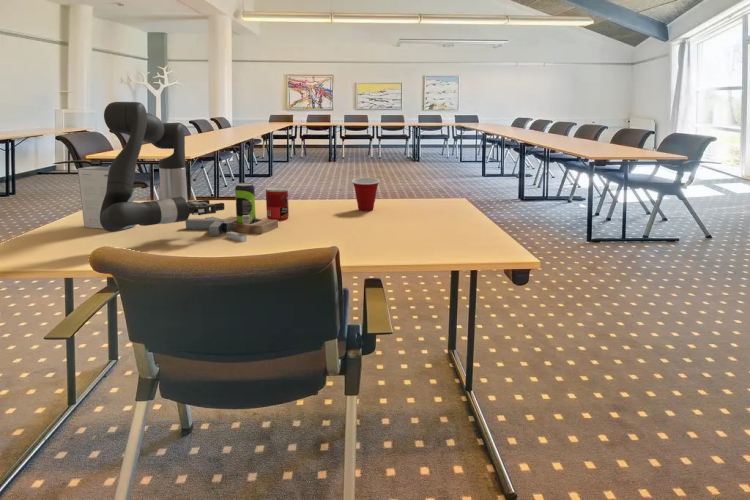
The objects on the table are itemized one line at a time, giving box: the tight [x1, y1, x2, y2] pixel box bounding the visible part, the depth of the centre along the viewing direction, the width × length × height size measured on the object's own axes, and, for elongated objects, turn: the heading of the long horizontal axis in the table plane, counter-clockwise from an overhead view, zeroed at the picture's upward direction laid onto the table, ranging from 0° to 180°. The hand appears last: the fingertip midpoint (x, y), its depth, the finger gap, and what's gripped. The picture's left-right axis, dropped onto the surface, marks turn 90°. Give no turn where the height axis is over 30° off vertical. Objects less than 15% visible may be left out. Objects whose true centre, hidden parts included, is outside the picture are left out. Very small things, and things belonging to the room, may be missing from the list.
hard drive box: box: [77, 166, 136, 231], centre depth 210 cm, size 16×8×20 cm, turn 71°
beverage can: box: [234, 182, 257, 224], centre depth 210 cm, size 6×6×15 cm
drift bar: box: [225, 231, 248, 243], centre depth 196 cm, size 8×2×2 cm, turn 46°
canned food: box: [265, 186, 290, 222], centre depth 227 cm, size 8×8×11 cm
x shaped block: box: [184, 216, 234, 237], centre depth 208 cm, size 10×18×3 cm, turn 46°
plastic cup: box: [351, 177, 381, 212], centre depth 246 cm, size 11×11×12 cm
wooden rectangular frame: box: [223, 215, 279, 235], centre depth 211 cm, size 18×11×2 cm, turn 72°
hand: (216, 204), depth 201 cm, fingers open, 8 cm apart
